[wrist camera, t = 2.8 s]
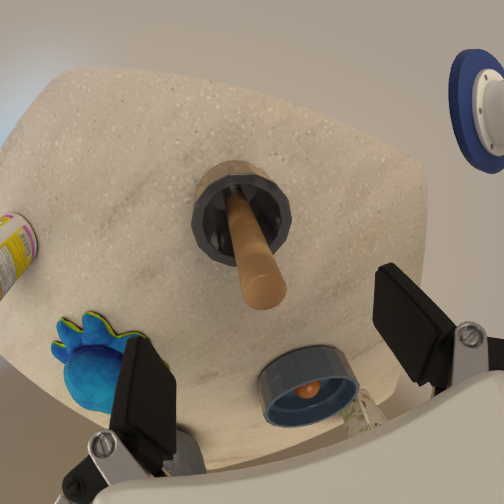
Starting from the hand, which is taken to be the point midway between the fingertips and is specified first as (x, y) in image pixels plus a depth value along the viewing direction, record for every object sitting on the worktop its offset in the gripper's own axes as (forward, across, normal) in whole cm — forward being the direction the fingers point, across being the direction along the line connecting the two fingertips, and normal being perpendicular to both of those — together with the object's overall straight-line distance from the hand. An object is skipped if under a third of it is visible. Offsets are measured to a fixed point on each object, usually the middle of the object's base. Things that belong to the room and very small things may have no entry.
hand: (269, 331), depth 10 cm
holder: (+17, 0, 0) cm, 17 cm away
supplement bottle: (+17, +24, -4) cm, 30 cm away
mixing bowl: (+17, -4, +29) cm, 34 cm away
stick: (+16, 0, 0) cm, 16 cm away
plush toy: (+17, +22, +16) cm, 33 cm away
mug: (+17, -12, +42) cm, 47 cm away
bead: (+14, -4, +28) cm, 32 cm away
